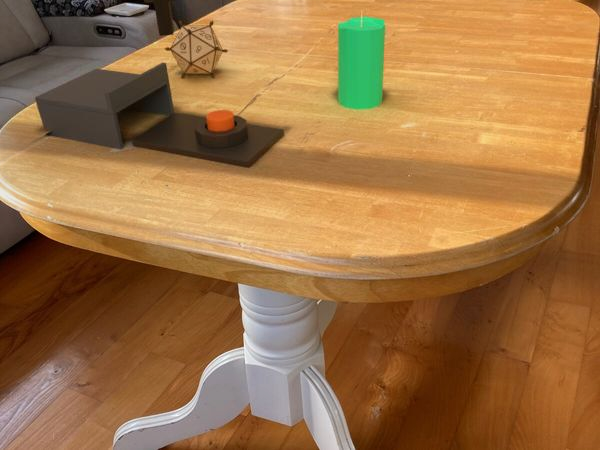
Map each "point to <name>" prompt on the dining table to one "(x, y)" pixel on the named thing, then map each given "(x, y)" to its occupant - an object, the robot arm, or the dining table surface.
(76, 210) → the dining table surface
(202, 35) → the game die
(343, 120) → the dining table surface
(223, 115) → the orange button cap
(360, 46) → the candle
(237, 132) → the dark grey button base
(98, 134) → the cover
